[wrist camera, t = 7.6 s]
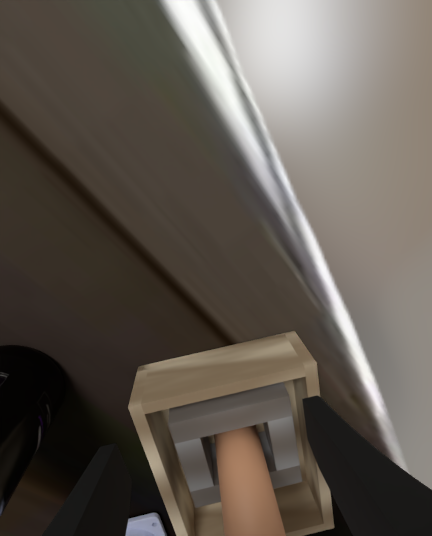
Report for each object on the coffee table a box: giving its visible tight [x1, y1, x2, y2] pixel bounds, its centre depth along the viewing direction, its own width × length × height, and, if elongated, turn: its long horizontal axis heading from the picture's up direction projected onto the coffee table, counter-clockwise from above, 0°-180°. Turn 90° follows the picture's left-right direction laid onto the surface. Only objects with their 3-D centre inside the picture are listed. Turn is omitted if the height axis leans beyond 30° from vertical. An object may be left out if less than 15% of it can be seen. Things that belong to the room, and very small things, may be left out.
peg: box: [214, 425, 286, 536], centre depth 19 cm, size 3×3×9 cm
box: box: [128, 331, 334, 536], centre depth 23 cm, size 16×12×4 cm
